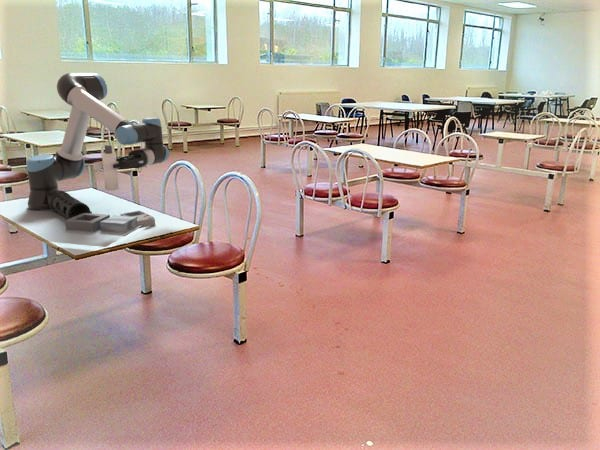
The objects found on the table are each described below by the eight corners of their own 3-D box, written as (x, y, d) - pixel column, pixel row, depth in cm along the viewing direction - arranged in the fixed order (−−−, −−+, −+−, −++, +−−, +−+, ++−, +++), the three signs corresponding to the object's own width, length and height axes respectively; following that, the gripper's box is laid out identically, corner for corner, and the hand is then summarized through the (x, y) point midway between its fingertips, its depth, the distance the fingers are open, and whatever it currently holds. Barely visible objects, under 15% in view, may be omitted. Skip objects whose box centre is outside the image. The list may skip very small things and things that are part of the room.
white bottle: (110, 187, 205) (105, 144, 200) (121, 188, 204) (117, 144, 199) (102, 190, 200) (98, 145, 195) (114, 190, 199) (110, 146, 194)
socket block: (84, 224, 216) (83, 212, 214) (110, 226, 213) (109, 214, 212) (66, 232, 204) (64, 220, 203) (93, 235, 202) (92, 223, 200)
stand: (115, 226, 213) (114, 215, 211) (137, 228, 211) (136, 217, 209) (101, 234, 203) (100, 221, 202) (124, 236, 201) (123, 223, 200)
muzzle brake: (92, 224, 219) (66, 224, 212) (69, 210, 239) (45, 209, 232) (94, 202, 218) (68, 202, 211) (70, 190, 238) (46, 188, 231)
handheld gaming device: (136, 229, 211) (136, 220, 210) (120, 221, 221) (120, 213, 220) (156, 226, 217) (156, 217, 216) (140, 218, 227) (139, 210, 226)
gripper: (159, 168, 213) (119, 178, 192) (124, 165, 220) (82, 175, 199) (157, 150, 211) (118, 158, 190) (122, 147, 217) (80, 155, 197)
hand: (100, 167), depth 195 cm, fingers closed on white bottle, 5 cm apart
